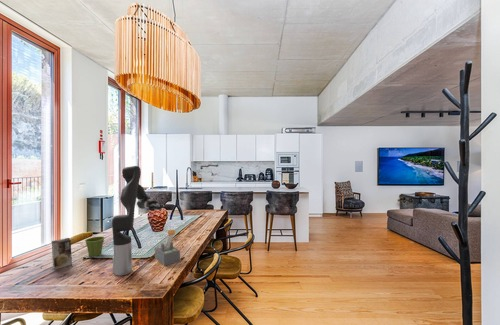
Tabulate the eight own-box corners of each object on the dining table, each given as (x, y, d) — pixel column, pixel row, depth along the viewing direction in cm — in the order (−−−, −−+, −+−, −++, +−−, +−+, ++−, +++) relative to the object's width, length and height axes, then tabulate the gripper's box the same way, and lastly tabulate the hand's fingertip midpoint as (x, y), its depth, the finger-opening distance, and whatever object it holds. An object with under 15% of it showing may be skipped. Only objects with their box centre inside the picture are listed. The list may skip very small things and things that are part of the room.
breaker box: (155, 258, 166) (154, 241, 165) (170, 254, 172) (169, 238, 172) (164, 266, 153) (163, 248, 153) (179, 261, 160) (179, 244, 160)
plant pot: (96, 259, 167) (95, 242, 166) (80, 258, 169) (80, 241, 169) (109, 252, 178) (108, 236, 178) (95, 251, 180) (94, 235, 180)
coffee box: (70, 262, 162) (69, 237, 162) (72, 265, 158) (71, 239, 158) (52, 266, 156) (51, 240, 156) (53, 269, 151) (52, 243, 151)
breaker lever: (163, 246, 163) (168, 230, 155) (168, 245, 165) (173, 229, 158) (164, 249, 161) (169, 233, 154) (169, 248, 164) (175, 232, 156)
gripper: (141, 200, 180) (149, 204, 166) (160, 198, 188) (169, 201, 175) (141, 211, 180) (150, 215, 166) (160, 208, 188) (169, 212, 175)
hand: (159, 208), depth 170 cm, fingers closed
